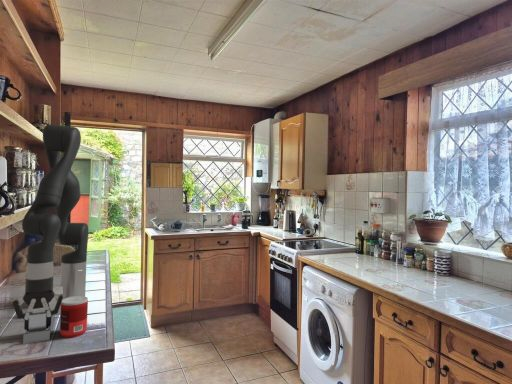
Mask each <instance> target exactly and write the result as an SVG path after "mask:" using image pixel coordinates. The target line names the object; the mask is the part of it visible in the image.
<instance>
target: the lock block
mask: <svg viewBox="0 0 512 384" xmlns="http://www.w3.org/2000/svg"><path fill="white" fill-rule="evenodd" d="M46 317H47V312H45V310H44V308H36V309H32V312H31V313H30V314H29V332H36V331H43V330H47V329H46Z"/></svg>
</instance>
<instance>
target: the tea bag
mask: <svg viewBox="0 0 512 384" xmlns="http://www.w3.org/2000/svg"><path fill="white" fill-rule="evenodd" d="M53 292H54V294H58V295H60V294H63V287H60V286H57V287H53ZM62 300H63V299H62ZM56 303H57V302H56V301H55V298H53V299H52V300H51V301H50V302H49V305H50V309H51V311H52V310H54V308H55V306H56ZM60 315H61V305H60V308H59V311H58V313H57V314H54V315H52V317H55V316H56V317H57V316H60Z"/></svg>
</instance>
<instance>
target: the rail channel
mask: <svg viewBox="0 0 512 384" xmlns="http://www.w3.org/2000/svg"><path fill="white" fill-rule="evenodd" d="M51 331H52V326H49V328H48V329H46V330H43V331H36V332H29V331H27V330H25V332H23V338H22V344H23V345H26V344H27V345H28V344H34V343H38V342H46V341H50V338H51Z"/></svg>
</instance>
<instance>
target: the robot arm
mask: <svg viewBox="0 0 512 384" xmlns="http://www.w3.org/2000/svg"><path fill="white" fill-rule="evenodd" d="M81 135H82V134H81V132H80V130H79V128H77V126H70V125H61V124H46V125H45V126H44V127H43V130H42V142H43V147H44V150H45V154H46V159H47V163H48V168H49V170H48V171H47V172H46V173H45V174H44V176H42V179H41V180H40V181H39V185H38V188H37V192H36V196H35V199H34V201H33V202H32V203H31V205H30V207H29V208H28V210H27V212H26V213H25V215H24V216H23V218H22V221H21V227H22V231H23V232H24V234H25V235H28V236H43V238H42V240H41V241H40V242H33V243H31V244H28V248H27V259H26V260H27V263H26V268H25V283H24V284H25V286H24V295H23V296H22V297H18V298H17V297H16V298H14V299H13V301H12V305H13V309H14V311H15V314H16V318H17V319H18V320H21V319H22V320H23V321H24V327H23V328H24V330H25V331H26V330H27V331H29V314H30V313H31V312H32V309H40V308H44V310H45V312H47V317H46V330H48V329H49V326H51V325H52V317H53V316H52V315H54V314H57V313H58V311H59V308H60V305H61V301H62V299H65V298H69V297H74V296H84V297H86V284H87V283H86V282H87V280H86V279H87V255H88V244H89V243H88V241H89V225H88V224H87V223H86V222H69V221H68V217H69V216H70V214H71V212H72V211H73V210H74V209H75V207H76V206H77V204H78V203H79V201H80V200H81V187H80V180H79V179H78V177H77V176H76V174H75V173H74V172H73V171H72V166H73V164H74V162H75V159H76V157H77V154H78V153H79V150H80V146H81V143H82V136H81ZM62 153H63V154H62ZM52 209H55V213H56V214H54V213H46V212H47V211H49V210H52ZM57 239H58V243H59V244H60V245H61V246H77V248H76V249H74V250H73V251H70V252H67V253H64V254H63V255H62V256H61V258H60V259H61V260H60V261H61V262H60V263H61V264H60V284H59V287H63V294H60V295H58V294H54V292H53V288H54V271H55V267H54V249H55V245H56V243H57ZM53 298H55V301H56V302H57V303H56V306H55V308H54V310H52V311H51V309H50V305H49V302H50V301H51V300H52V299H53ZM23 302H25V304H26V305H27V306H28V308H27V310H26V312H25V313H24V312H23V309H22V304H23ZM51 327H52V326H51Z"/></svg>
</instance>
